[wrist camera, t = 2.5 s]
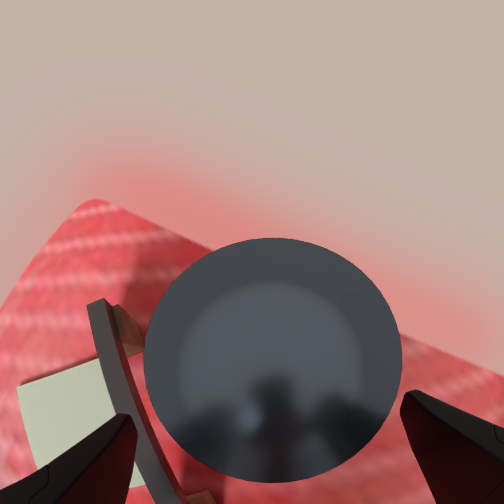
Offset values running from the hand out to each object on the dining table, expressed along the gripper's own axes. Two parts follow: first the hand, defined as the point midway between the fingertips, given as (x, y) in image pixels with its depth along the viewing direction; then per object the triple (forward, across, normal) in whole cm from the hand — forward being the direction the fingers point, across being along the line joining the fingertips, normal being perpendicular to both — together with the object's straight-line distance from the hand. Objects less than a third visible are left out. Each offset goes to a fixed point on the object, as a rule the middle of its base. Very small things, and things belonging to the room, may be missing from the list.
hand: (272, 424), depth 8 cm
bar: (+4, +6, +4) cm, 8 cm away
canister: (+7, 0, +5) cm, 9 cm away
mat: (+5, +13, +8) cm, 16 cm away
